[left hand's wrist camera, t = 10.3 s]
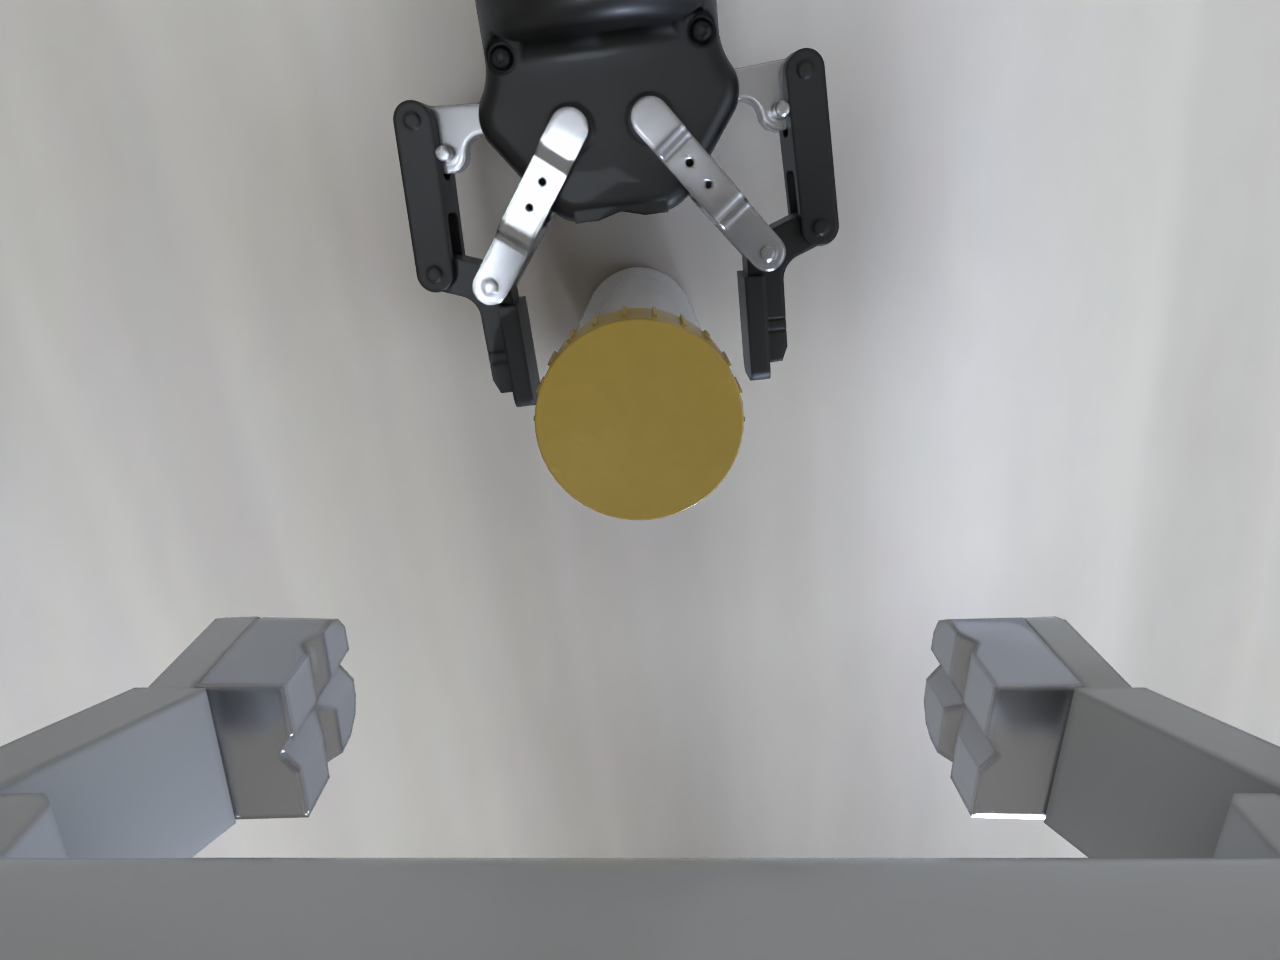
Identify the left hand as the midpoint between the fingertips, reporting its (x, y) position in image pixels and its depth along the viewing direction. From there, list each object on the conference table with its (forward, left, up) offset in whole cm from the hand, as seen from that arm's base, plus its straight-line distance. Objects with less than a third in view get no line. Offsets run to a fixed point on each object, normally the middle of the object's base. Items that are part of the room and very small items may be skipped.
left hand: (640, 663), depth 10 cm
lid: (0, 0, -11) cm, 11 cm away
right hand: (-1, +1, -20) cm, 20 cm away
